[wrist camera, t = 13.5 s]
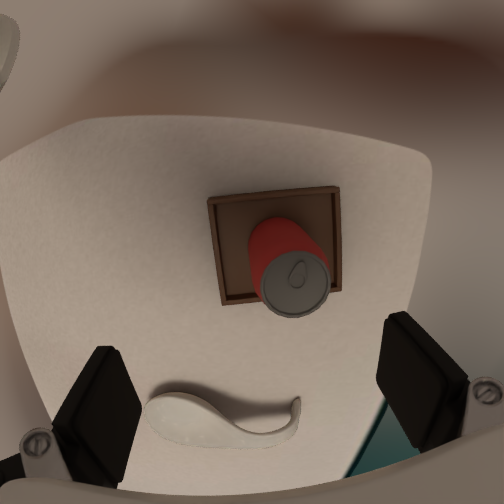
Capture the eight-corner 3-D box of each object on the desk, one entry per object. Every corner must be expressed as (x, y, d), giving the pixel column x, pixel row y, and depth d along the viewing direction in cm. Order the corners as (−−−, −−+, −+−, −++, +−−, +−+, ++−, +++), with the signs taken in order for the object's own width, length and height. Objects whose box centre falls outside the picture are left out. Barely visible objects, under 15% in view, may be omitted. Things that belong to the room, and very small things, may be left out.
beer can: (311, 221, 34) (347, 252, 22) (298, 276, 35) (324, 328, 24) (253, 211, 33) (262, 237, 21) (242, 267, 35) (245, 318, 23)
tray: (208, 197, 33) (206, 199, 31) (334, 185, 33) (339, 187, 31) (222, 298, 36) (221, 305, 34) (336, 284, 36) (341, 291, 35)
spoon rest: (155, 426, 43) (147, 458, 36) (141, 377, 39) (128, 410, 33) (295, 427, 44) (302, 459, 37) (302, 377, 41) (312, 412, 34)
